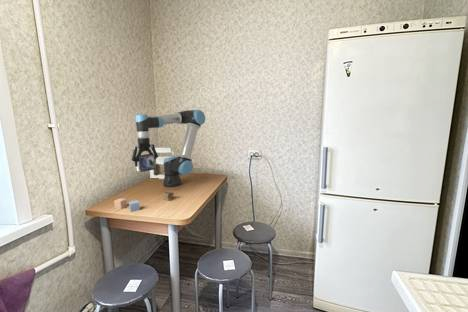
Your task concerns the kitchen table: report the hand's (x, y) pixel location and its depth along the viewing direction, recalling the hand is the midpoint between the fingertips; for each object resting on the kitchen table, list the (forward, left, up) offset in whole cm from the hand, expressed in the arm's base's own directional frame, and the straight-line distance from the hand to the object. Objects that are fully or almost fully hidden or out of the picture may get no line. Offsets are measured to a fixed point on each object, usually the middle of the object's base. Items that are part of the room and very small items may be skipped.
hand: (146, 169), depth 170 cm
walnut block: (-8, +13, -21) cm, 26 cm away
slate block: (+16, +13, -21) cm, 29 cm away
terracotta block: (+20, +2, -21) cm, 29 cm away
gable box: (-39, -45, -21) cm, 63 cm away
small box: (0, 0, -1) cm, 1 cm away
